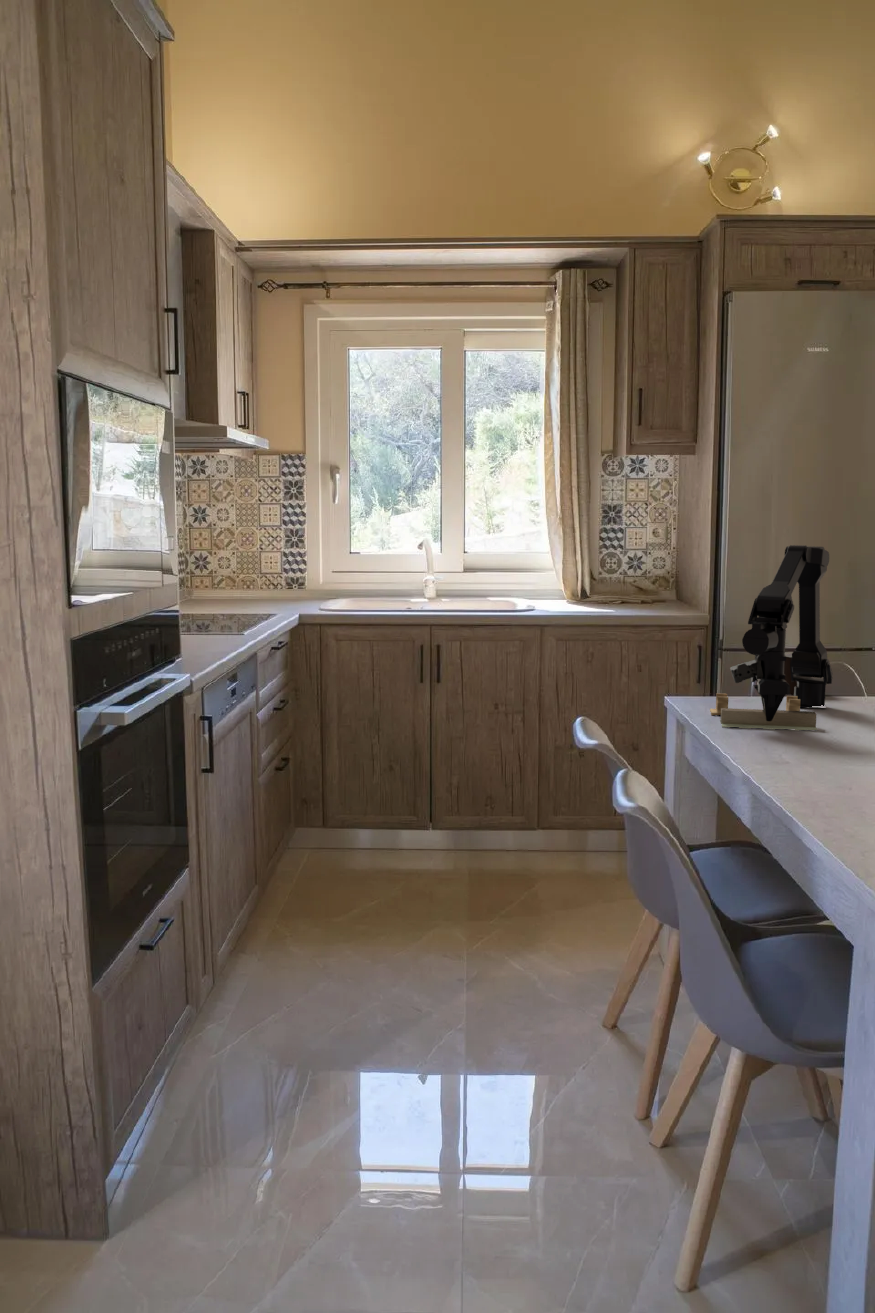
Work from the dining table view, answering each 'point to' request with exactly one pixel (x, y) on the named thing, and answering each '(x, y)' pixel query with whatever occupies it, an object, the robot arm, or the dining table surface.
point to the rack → (722, 702)
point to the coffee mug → (789, 673)
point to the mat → (768, 727)
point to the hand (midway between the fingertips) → (768, 719)
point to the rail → (760, 718)
